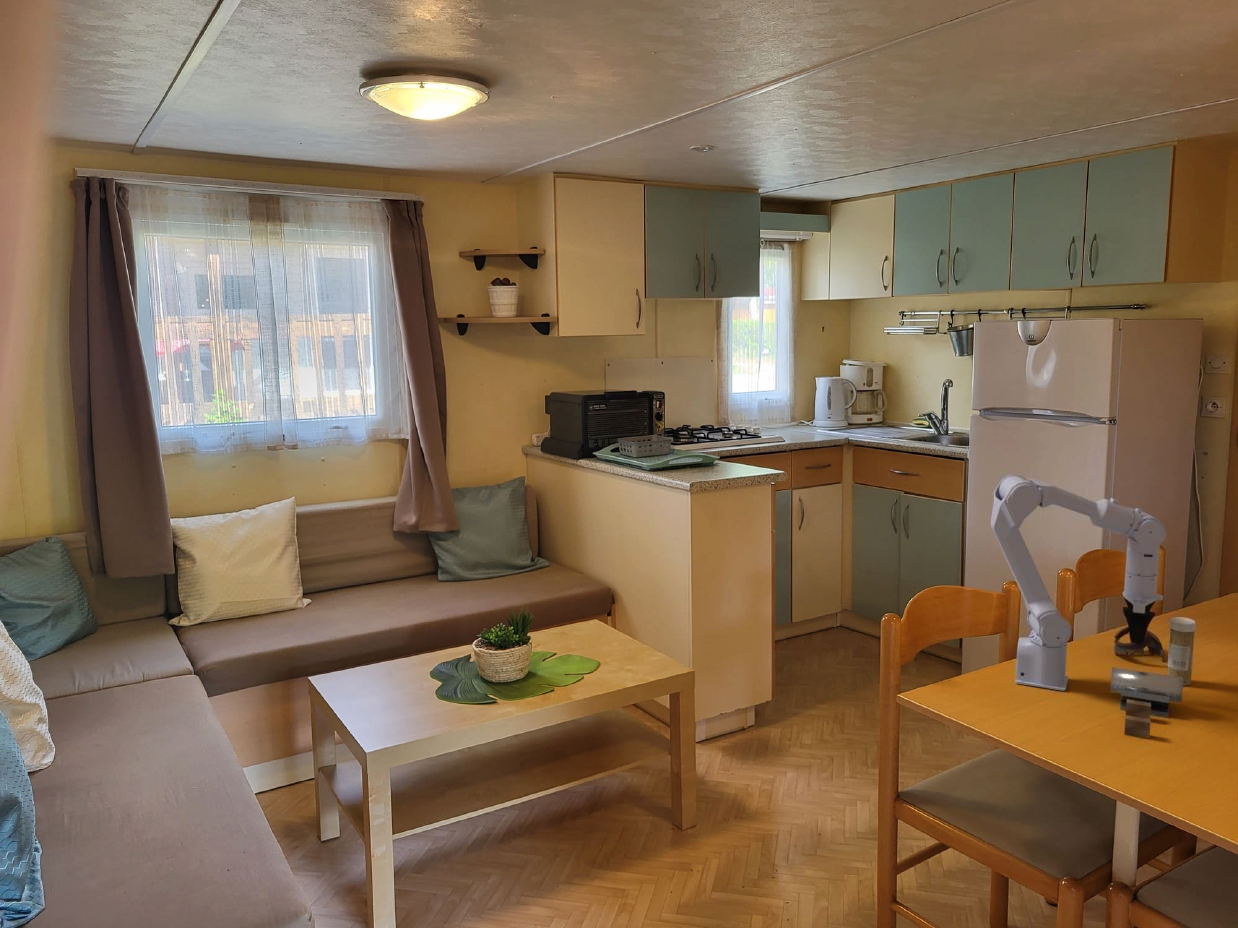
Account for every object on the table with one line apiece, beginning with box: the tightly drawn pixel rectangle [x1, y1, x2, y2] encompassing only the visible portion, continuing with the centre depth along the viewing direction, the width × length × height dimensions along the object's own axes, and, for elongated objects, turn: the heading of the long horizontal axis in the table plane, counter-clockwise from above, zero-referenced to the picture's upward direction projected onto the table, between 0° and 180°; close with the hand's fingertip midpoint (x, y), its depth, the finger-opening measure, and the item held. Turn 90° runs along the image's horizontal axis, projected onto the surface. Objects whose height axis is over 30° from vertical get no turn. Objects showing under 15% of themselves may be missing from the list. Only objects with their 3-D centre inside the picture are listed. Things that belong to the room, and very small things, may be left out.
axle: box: [1110, 666, 1184, 704], centre depth 181 cm, size 12×5×5 cm, turn 60°
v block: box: [1120, 689, 1170, 718], centre depth 181 cm, size 8×8×4 cm
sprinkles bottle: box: [1166, 616, 1197, 687], centre depth 191 cm, size 5×5×14 cm
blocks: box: [1123, 699, 1152, 740], centre depth 173 cm, size 4×10×3 cm, turn 150°
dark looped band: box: [1113, 626, 1166, 663], centre depth 207 cm, size 12×9×8 cm
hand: (1137, 637), depth 190 cm, fingers open, 7 cm apart
